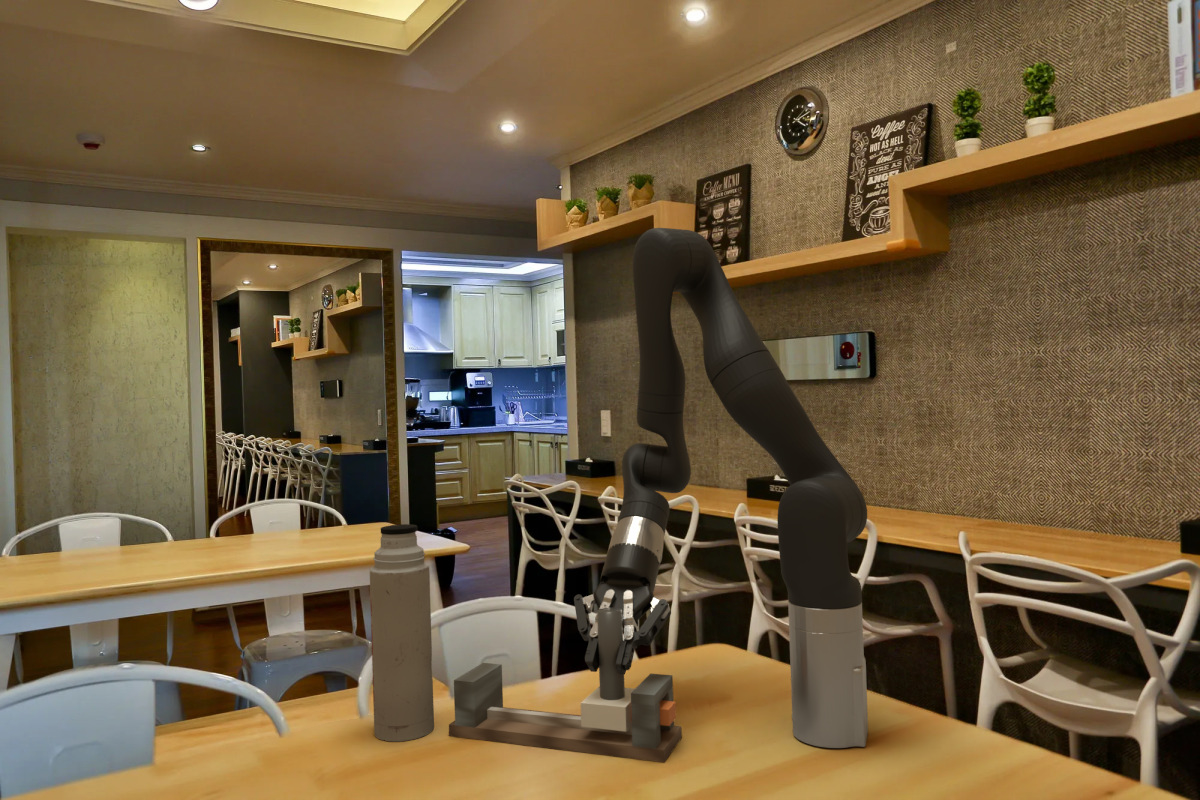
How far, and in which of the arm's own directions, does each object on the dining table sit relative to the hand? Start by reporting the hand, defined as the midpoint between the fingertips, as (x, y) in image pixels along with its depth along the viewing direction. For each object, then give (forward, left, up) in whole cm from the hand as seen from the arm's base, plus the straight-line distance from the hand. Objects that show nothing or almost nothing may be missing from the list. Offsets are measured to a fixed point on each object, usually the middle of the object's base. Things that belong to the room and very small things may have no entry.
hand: (606, 669), depth 107 cm
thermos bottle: (+29, +2, -10) cm, 31 cm away
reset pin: (-6, -2, -6) cm, 9 cm away
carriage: (0, -2, -7) cm, 7 cm away
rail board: (+7, -2, -10) cm, 12 cm away
